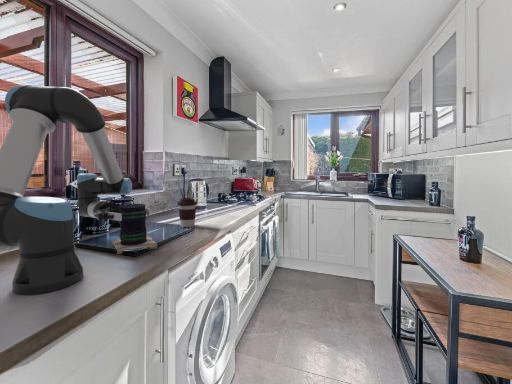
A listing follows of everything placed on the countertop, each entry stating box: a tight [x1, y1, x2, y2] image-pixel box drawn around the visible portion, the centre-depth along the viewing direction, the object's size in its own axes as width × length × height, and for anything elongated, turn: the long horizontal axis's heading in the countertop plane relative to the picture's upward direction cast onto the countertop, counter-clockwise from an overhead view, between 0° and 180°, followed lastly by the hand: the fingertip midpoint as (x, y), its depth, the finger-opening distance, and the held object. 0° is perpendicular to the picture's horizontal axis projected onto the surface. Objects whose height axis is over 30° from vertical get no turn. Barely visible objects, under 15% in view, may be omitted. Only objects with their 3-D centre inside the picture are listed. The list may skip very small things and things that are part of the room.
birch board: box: [112, 234, 158, 255], centre depth 104 cm, size 16×14×2 cm
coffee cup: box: [177, 197, 198, 228], centre depth 138 cm, size 10×10×15 cm
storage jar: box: [118, 203, 148, 246], centre depth 103 cm, size 10×10×15 cm
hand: (136, 214), depth 102 cm, fingers open, 13 cm apart
